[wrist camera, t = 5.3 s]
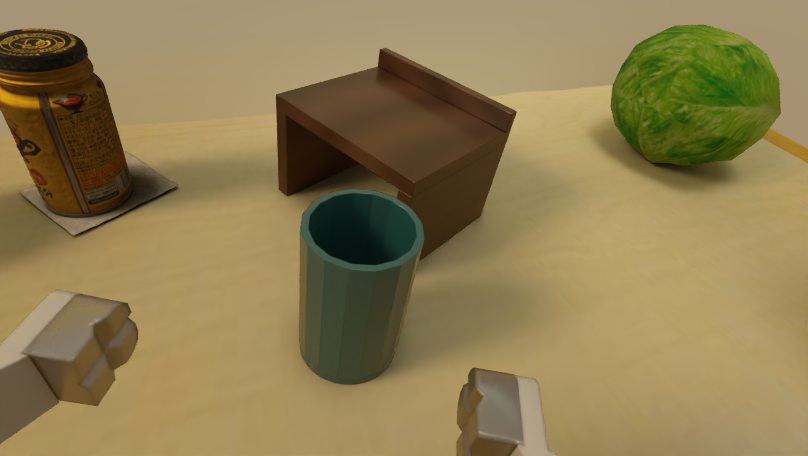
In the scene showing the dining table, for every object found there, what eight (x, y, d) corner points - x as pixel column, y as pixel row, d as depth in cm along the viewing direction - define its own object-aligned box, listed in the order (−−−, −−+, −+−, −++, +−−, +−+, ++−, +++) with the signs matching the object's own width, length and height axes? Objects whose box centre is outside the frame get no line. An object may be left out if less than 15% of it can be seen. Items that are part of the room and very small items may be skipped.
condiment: (19, 193, 35) (-61, 33, 27) (126, 153, 40) (86, 11, 33) (74, 238, 32) (3, 75, 24) (179, 188, 38) (150, 44, 30)
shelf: (480, 215, 42) (517, 111, 35) (394, 279, 34) (419, 161, 27) (372, 148, 47) (385, 47, 41) (278, 189, 40) (274, 73, 33)
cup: (414, 343, 30) (447, 232, 23) (346, 405, 26) (363, 292, 20) (350, 289, 33) (363, 175, 26) (279, 338, 29) (274, 219, 22)
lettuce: (740, 185, 59) (850, 82, 49) (657, 203, 49) (776, 76, 39) (646, 112, 68) (722, 12, 58) (558, 114, 57) (634, -9, 47)
